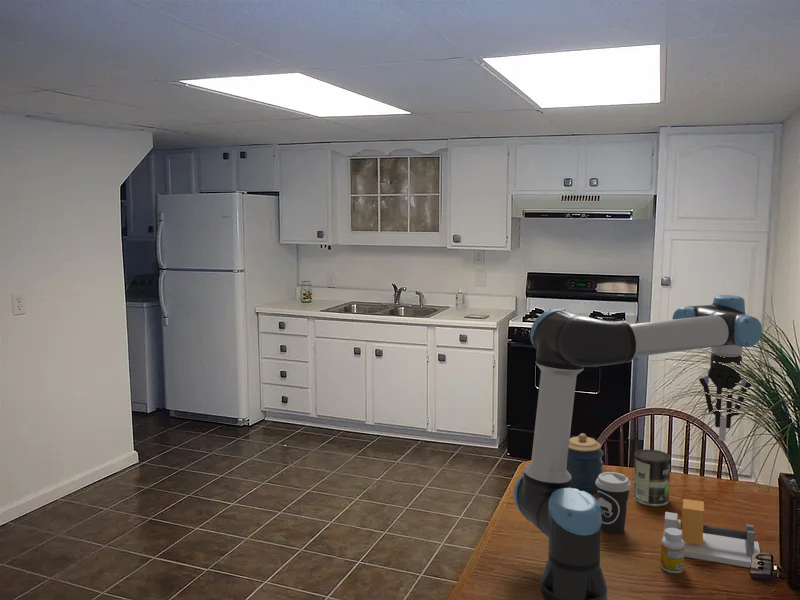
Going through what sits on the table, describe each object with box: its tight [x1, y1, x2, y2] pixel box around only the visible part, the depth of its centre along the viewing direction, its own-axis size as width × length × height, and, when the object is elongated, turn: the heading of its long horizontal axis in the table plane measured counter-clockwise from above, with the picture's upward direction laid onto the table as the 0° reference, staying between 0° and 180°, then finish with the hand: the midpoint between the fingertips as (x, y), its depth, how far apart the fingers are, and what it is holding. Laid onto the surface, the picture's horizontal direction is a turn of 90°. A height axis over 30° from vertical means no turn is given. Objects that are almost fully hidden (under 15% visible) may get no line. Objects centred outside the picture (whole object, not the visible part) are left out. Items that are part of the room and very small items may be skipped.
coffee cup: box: [595, 471, 632, 535], centre depth 190 cm, size 10×10×15 cm
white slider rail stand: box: [662, 511, 761, 569], centre depth 178 cm, size 12×23×8 cm, turn 67°
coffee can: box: [633, 449, 672, 507], centre depth 209 cm, size 10×10×14 cm
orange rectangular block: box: [681, 498, 705, 545], centre depth 180 cm, size 6×5×9 cm
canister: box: [566, 432, 605, 495], centre depth 219 cm, size 13×13×18 cm
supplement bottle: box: [660, 528, 685, 574], centre depth 170 cm, size 5×5×10 cm
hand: (722, 438), depth 185 cm, fingers closed
